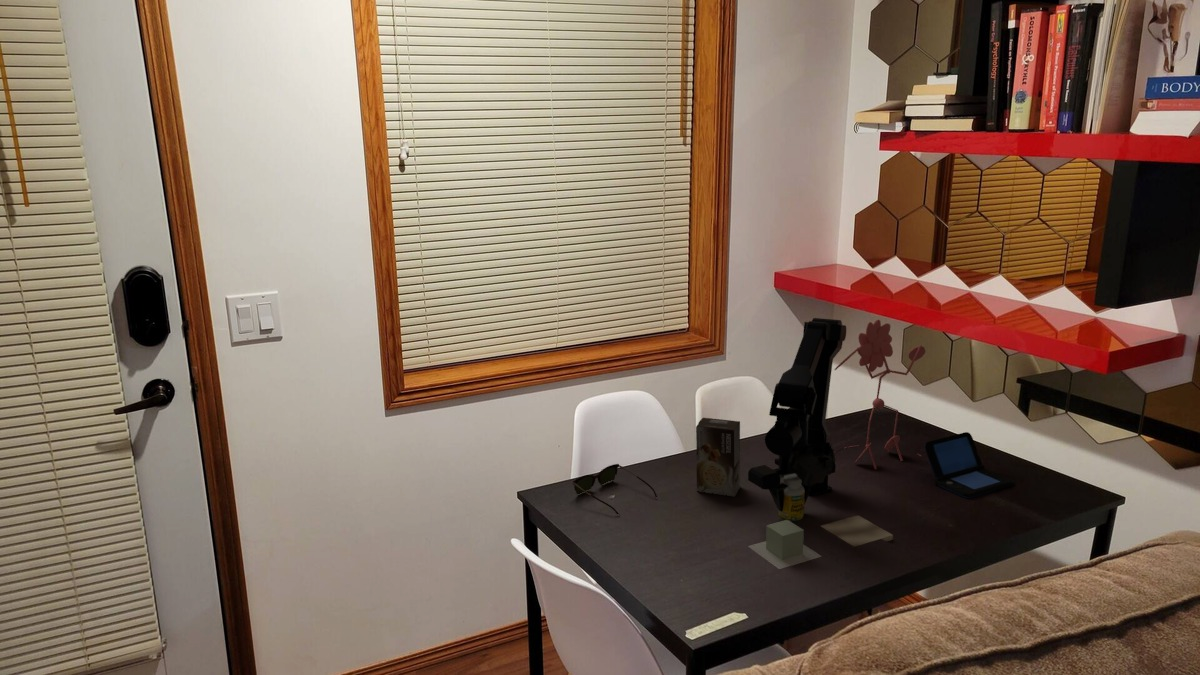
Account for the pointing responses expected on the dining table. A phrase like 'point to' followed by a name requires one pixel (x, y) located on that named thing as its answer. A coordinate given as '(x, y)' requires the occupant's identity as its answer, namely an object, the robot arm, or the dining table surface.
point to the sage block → (784, 539)
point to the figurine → (874, 354)
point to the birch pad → (857, 531)
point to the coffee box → (718, 456)
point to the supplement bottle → (793, 499)
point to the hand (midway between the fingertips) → (791, 507)
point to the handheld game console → (962, 467)
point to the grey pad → (777, 562)
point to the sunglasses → (600, 481)
